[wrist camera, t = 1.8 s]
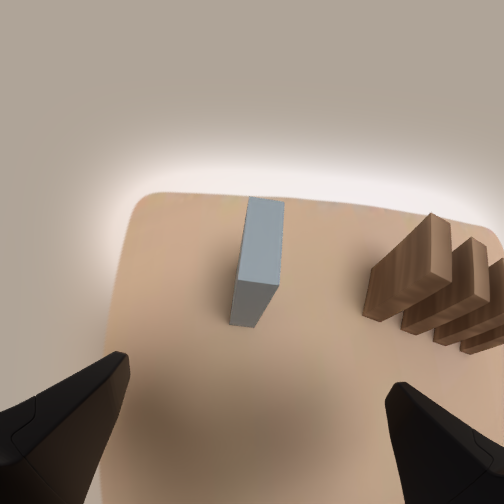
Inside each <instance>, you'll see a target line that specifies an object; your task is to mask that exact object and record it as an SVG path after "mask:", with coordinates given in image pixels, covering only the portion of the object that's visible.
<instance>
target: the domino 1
mask: <svg viewBox="0 0 504 504" xmlns="http://www.w3.org/2000/svg"><path fill="white" fill-rule="evenodd" d="M283 220H284V202H281V201H275V200H269V199H263V198H256V197H250V196H249V201H248V207H247V213H246V218H245V224H244V230H243V236H242V242H241V247H240V253H239V259H238V265H237V272H236V279H235V286H234V294H233V301H232V308H231V316H230V323H229V325H237V326H244V327H252V328H254V327H255V325H256V324H257V322H258V320H259V319H260V317H261V315H262V314H263V312H264V310H265V309H266V307H267V305H268V304H269V302H270V300H271V299H272V297H273V295H274V294H275V292H276V290H277V288H278V287H279V283H280V268H281V253H282V237H283Z"/></svg>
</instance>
